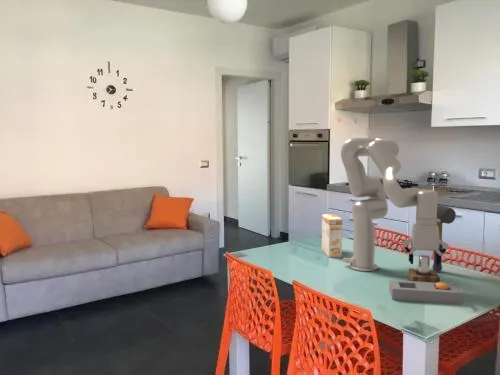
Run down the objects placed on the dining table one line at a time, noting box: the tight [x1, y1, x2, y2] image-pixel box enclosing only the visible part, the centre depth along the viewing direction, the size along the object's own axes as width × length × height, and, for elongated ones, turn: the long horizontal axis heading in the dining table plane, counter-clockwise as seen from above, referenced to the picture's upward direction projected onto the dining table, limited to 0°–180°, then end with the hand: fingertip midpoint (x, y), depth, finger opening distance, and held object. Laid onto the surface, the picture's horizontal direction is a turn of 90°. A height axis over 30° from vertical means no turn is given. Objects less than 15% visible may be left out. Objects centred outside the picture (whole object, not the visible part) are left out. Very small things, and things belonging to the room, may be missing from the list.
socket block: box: [388, 279, 464, 305], centre depth 160 cm, size 24×10×5 cm, turn 78°
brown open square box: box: [407, 268, 441, 283], centre depth 173 cm, size 10×10×6 cm
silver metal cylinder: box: [417, 254, 431, 276], centre depth 172 cm, size 4×4×12 cm
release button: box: [436, 281, 448, 290], centre depth 159 cm, size 4×4×5 cm
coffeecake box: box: [321, 213, 343, 258], centre depth 223 cm, size 15×7×20 cm, turn 5°
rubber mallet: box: [432, 204, 457, 273], centre depth 192 cm, size 12×8×30 cm, turn 19°
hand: (424, 263), depth 172 cm, fingers open, 9 cm apart
